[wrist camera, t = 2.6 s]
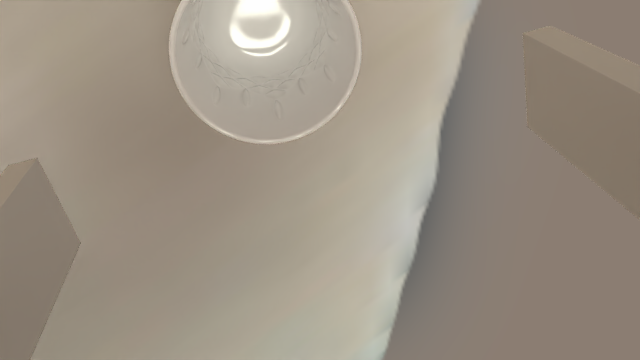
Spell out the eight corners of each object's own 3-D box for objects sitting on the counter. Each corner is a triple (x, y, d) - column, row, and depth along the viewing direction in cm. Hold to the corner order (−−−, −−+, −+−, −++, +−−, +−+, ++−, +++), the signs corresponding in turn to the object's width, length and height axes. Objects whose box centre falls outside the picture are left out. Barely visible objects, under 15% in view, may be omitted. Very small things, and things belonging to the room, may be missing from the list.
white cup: (205, 89, 34) (196, 160, 25) (168, -52, 30) (142, -26, 21) (335, 64, 34) (372, 125, 25) (315, -79, 31) (349, -65, 22)
